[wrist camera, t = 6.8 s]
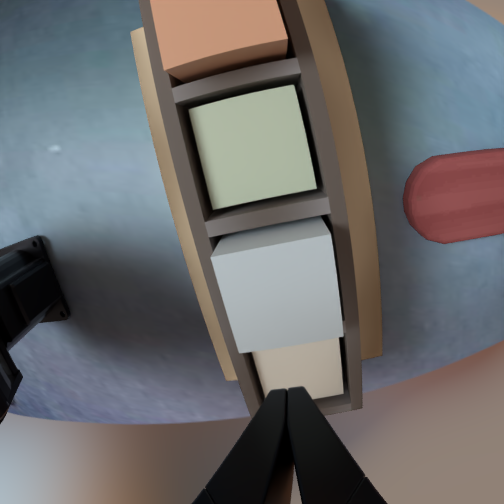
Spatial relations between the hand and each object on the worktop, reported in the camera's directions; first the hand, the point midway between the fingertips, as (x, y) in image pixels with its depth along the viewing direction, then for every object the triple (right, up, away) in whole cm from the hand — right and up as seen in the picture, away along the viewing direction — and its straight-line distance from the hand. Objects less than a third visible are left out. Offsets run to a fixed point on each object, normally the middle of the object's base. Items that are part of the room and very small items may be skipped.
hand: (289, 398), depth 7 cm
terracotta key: (-2, +13, +3) cm, 13 cm away
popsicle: (+15, +8, +8) cm, 19 cm away
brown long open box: (0, +7, +9) cm, 11 cm away
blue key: (0, +3, +6) cm, 7 cm away
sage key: (-1, +9, +7) cm, 11 cm away
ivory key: (+2, -1, +10) cm, 10 cm away
